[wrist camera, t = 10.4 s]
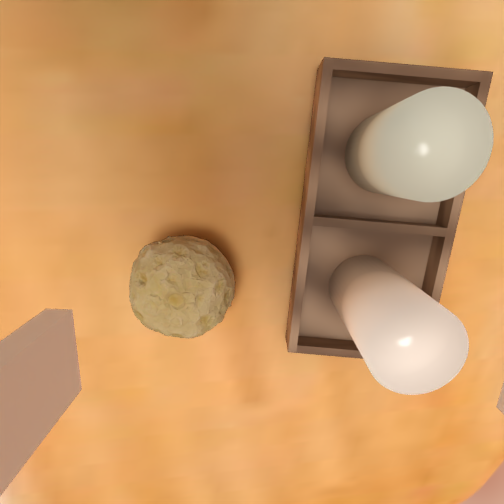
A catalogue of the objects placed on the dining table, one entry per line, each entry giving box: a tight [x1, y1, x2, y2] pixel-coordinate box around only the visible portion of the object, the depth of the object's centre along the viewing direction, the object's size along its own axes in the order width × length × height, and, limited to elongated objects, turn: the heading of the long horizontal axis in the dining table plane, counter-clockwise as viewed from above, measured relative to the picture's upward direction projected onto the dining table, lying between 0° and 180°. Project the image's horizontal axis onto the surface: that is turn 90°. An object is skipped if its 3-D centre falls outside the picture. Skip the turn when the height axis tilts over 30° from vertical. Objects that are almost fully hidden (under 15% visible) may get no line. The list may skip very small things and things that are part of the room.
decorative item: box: [129, 235, 235, 338], centre depth 31 cm, size 10×10×10 cm
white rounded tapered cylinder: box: [329, 255, 469, 395], centre depth 27 cm, size 6×6×12 cm
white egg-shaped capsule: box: [345, 86, 493, 202], centre depth 25 cm, size 7×7×9 cm
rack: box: [286, 57, 493, 359], centre depth 31 cm, size 26×13×3 cm, turn 175°
